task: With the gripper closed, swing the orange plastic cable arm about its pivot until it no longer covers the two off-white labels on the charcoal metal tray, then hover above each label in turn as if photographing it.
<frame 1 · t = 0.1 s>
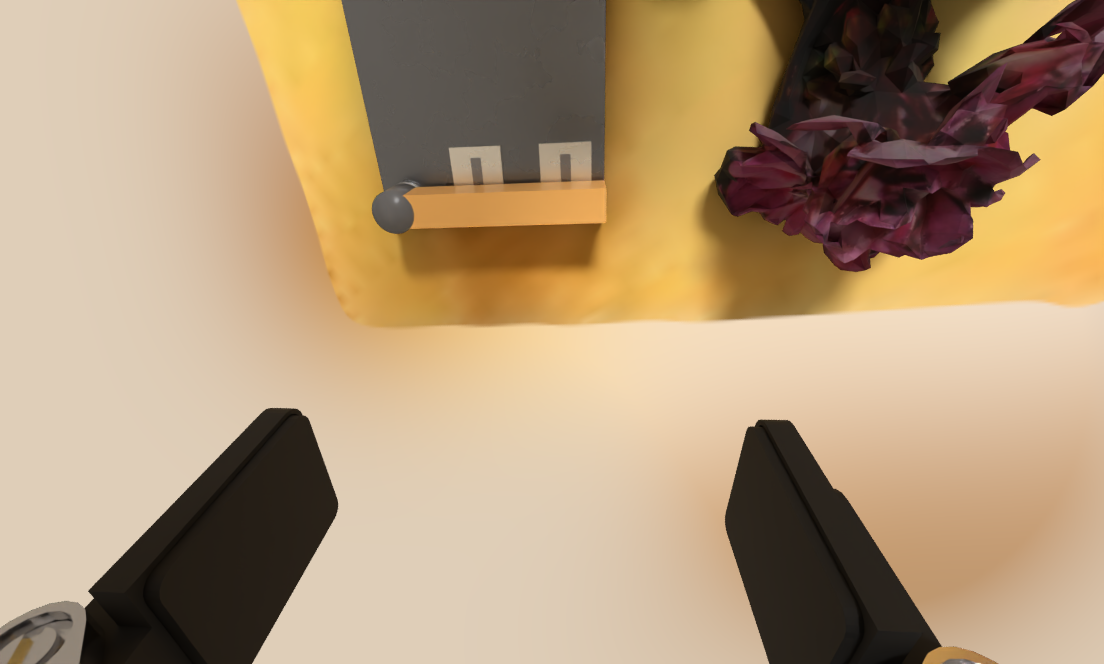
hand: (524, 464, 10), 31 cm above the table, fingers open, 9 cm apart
flower arrangement: (859, 15, 30), on the table, touching dark grey toy house
cable arm: (490, 205, 35), point 3 cm above the table, hinge at 0.0°
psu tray: (484, 86, 34), on the table
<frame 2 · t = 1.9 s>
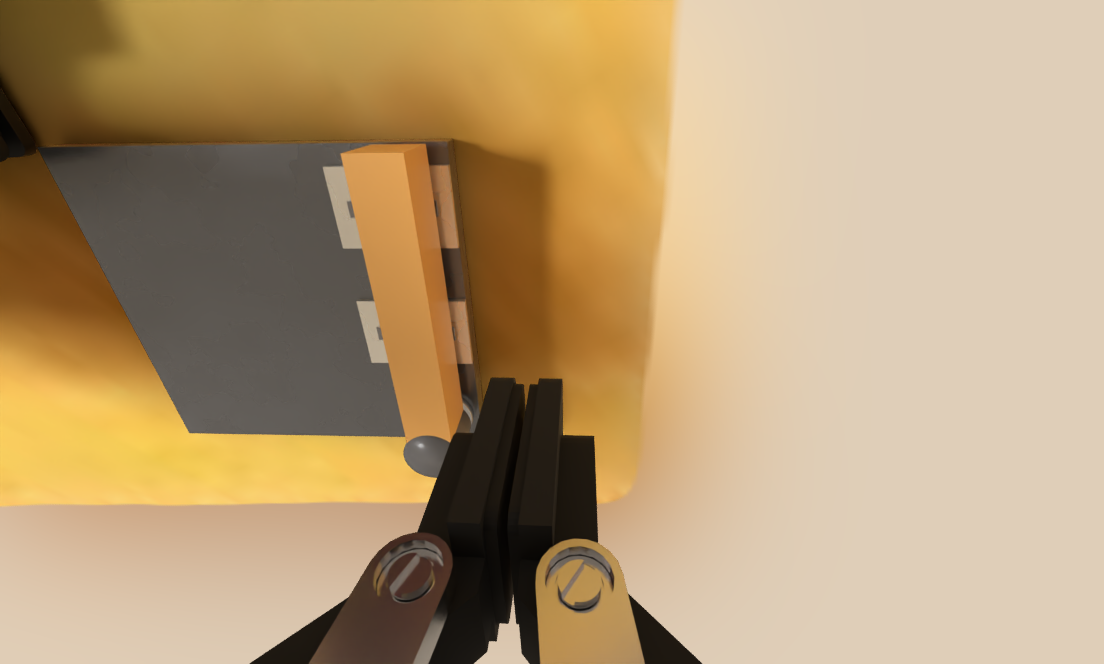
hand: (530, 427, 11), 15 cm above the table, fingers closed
cable arm: (419, 332, 23), point 3 cm above the table, hinge at 0.0°
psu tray: (304, 305, 27), on the table
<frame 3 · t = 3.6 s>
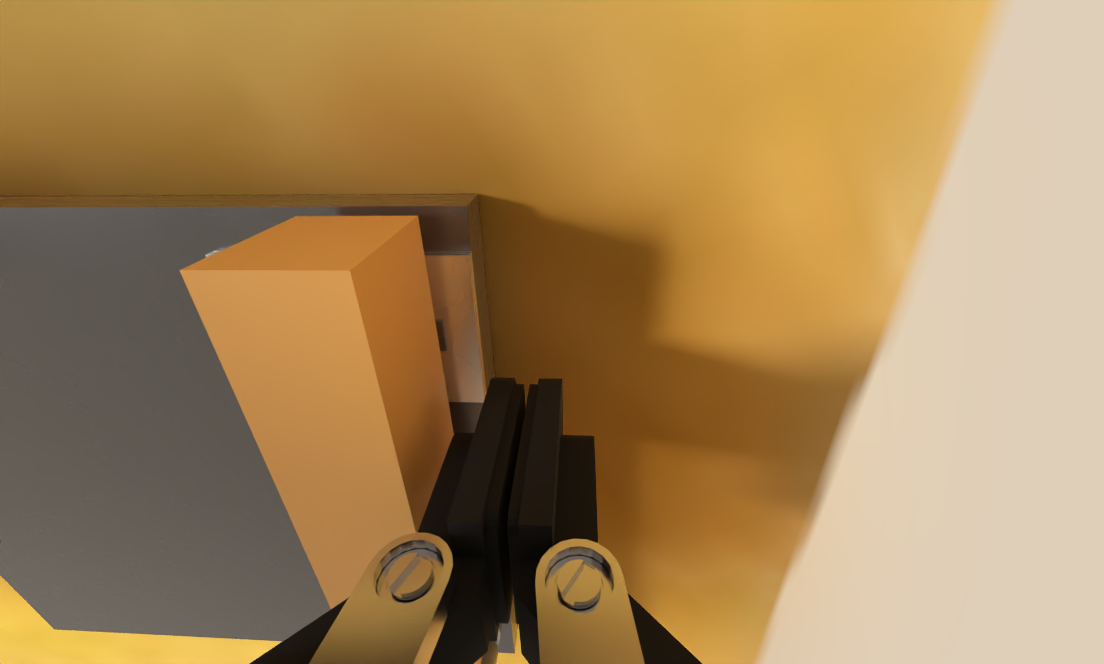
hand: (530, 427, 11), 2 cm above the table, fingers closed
cable arm: (408, 562, 12), point 4 cm above the table, hinge at 0.2°, touching gripper
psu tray: (216, 462, 15), on the table
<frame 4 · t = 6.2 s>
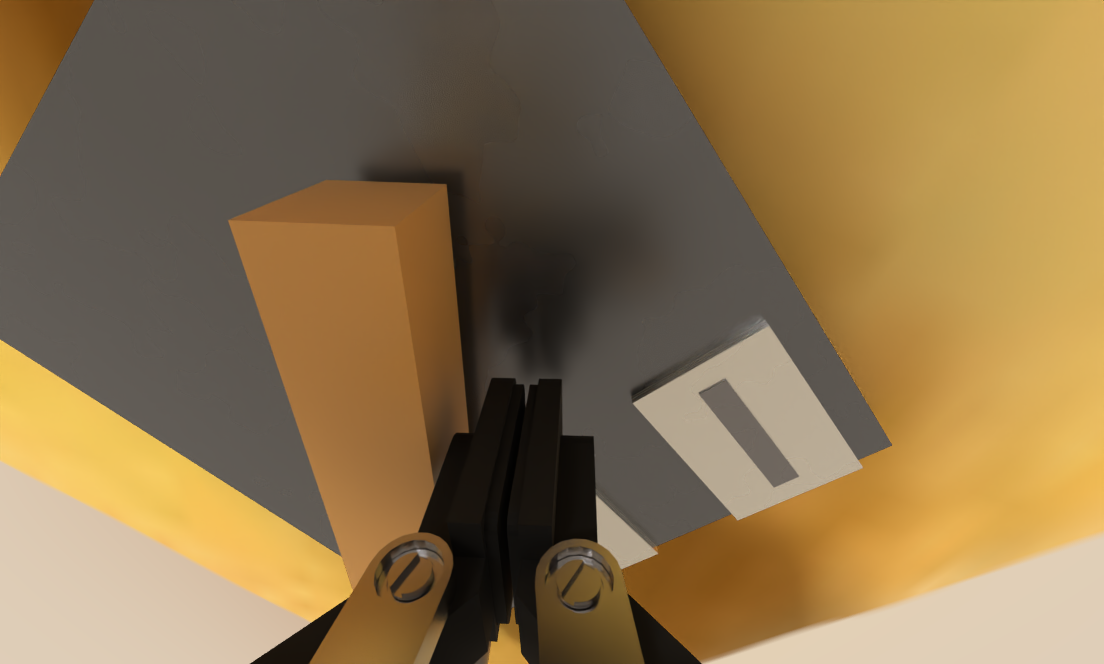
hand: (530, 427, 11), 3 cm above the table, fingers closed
cable arm: (417, 525, 12), point 4 cm above the table, hinge at 49.5°, touching gripper
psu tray: (442, 351, 14), on the table
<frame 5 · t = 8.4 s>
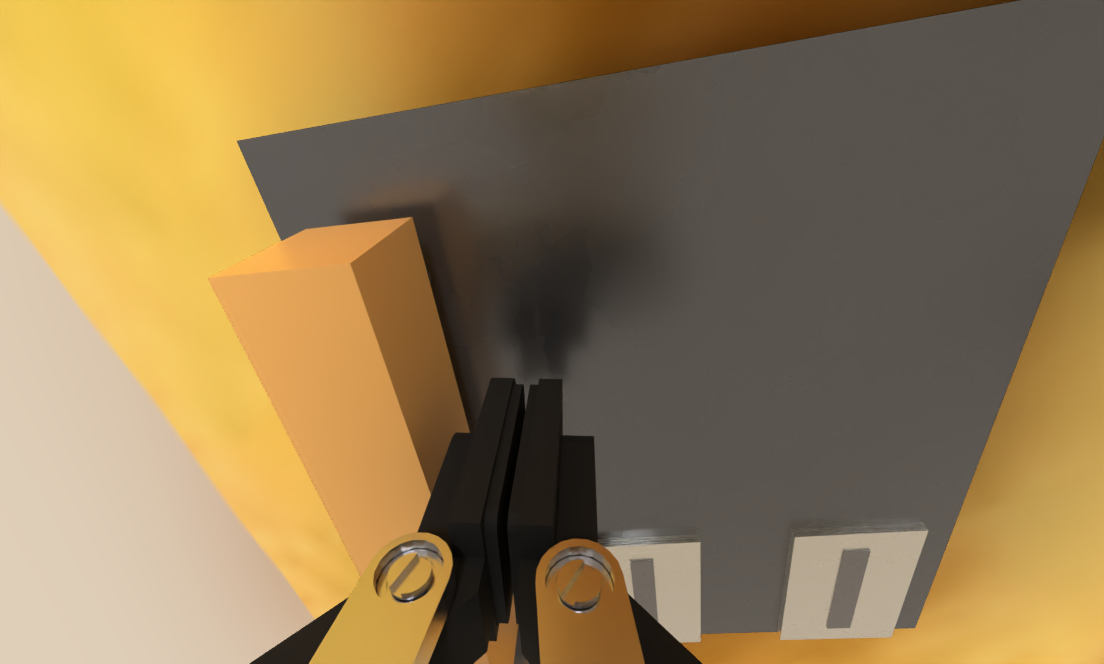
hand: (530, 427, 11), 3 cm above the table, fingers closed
cable arm: (435, 544, 13), point 4 cm above the table, hinge at 88.1°
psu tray: (657, 421, 15), on the table
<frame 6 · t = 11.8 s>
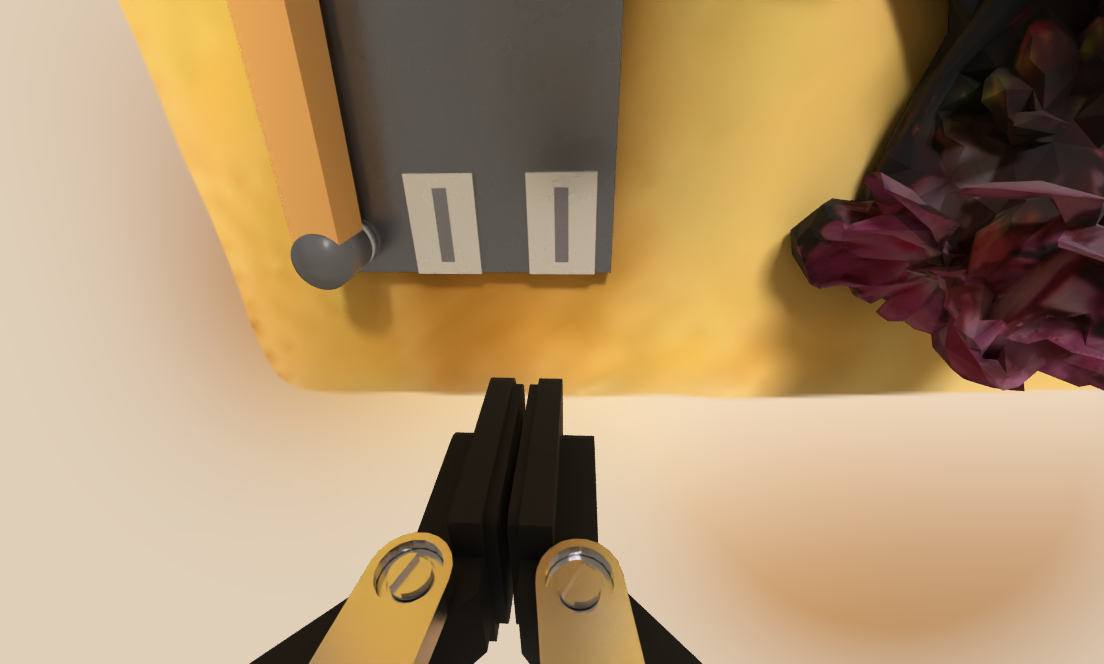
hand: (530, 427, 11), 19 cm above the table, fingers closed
flower arrangement: (1022, 33, 22), on the table, touching dark grey toy house
cable arm: (301, 114, 22), point 4 cm above the table, hinge at 88.1°
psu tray: (451, 91, 24), on the table
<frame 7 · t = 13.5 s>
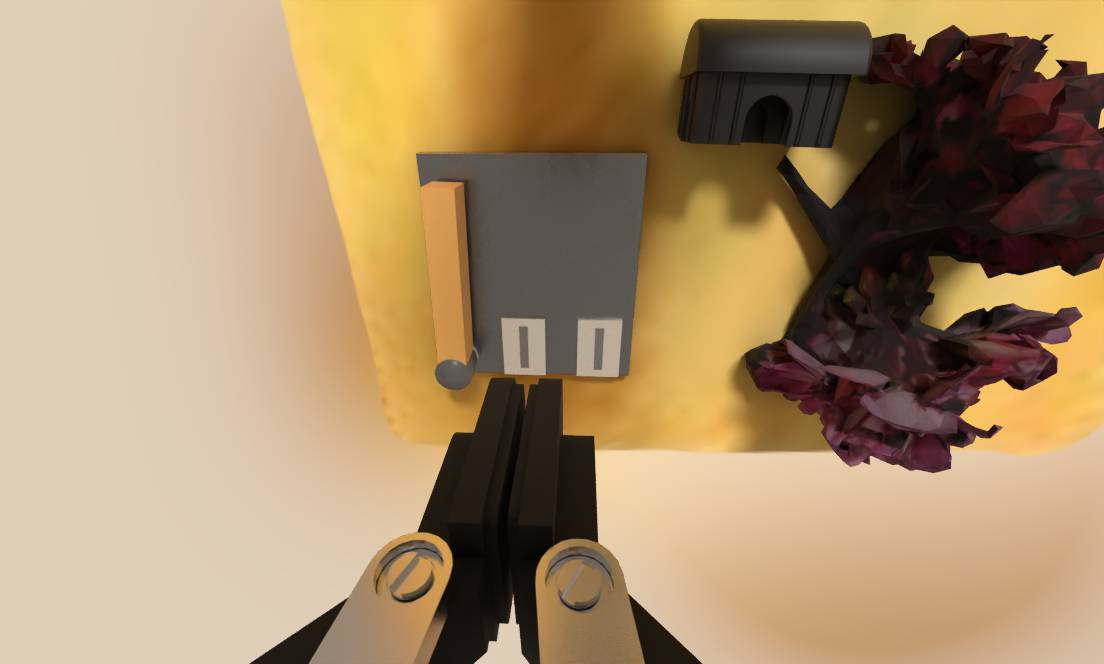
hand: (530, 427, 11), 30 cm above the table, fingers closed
flower arrangement: (872, 255, 38), on the table, touching dark grey toy house
cable arm: (451, 293, 38), point 3 cm above the table, hinge at 88.1°
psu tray: (534, 271, 40), on the table
dark grey toy house: (744, 89, 33), on the table, touching flower arrangement
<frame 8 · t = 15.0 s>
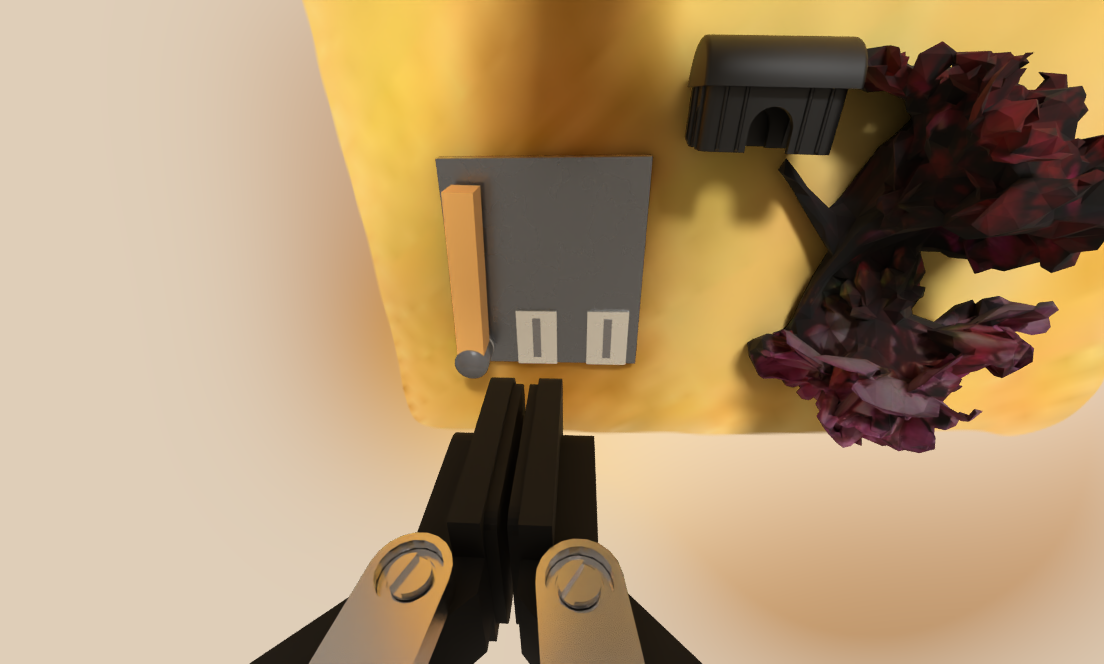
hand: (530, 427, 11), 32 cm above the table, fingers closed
flower arrangement: (868, 250, 40), on the table, touching dark grey toy house
cable arm: (469, 288, 41), point 4 cm above the table, hinge at 88.1°
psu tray: (546, 267, 43), on the table
dark grey toy house: (748, 95, 35), on the table, touching flower arrangement
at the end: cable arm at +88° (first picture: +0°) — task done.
